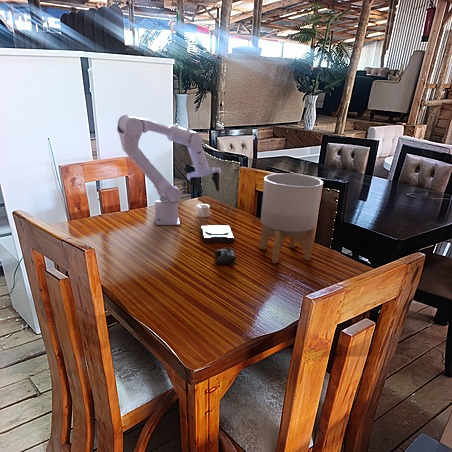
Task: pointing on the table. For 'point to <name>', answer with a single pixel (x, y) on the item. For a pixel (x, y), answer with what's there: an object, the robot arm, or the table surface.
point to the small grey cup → (203, 210)
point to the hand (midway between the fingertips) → (209, 191)
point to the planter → (290, 211)
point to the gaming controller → (225, 256)
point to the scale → (217, 234)
